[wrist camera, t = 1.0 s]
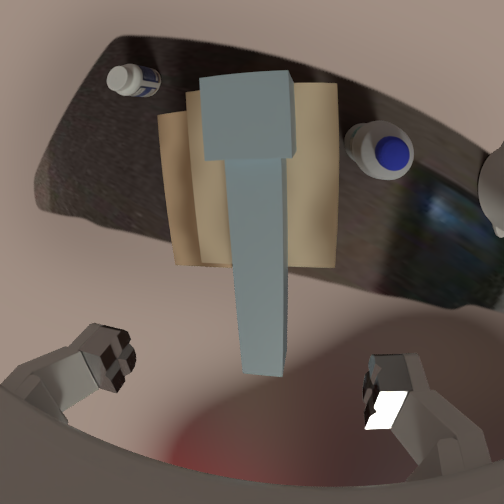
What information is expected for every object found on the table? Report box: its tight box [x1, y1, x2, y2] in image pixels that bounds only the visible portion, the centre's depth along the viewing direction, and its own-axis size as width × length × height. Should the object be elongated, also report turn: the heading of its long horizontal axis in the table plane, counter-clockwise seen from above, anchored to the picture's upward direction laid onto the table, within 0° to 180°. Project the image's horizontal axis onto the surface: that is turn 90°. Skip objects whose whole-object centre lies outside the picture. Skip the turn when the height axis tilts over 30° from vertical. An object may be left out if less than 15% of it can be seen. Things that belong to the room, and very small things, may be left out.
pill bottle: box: [107, 64, 161, 97], centre depth 40 cm, size 5×5×10 cm
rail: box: [199, 70, 297, 377], centre depth 21 cm, size 5×23×5 cm, turn 3°
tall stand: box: [186, 83, 339, 268], centre depth 33 cm, size 11×14×26 cm
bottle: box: [344, 121, 414, 180], centre depth 33 cm, size 7×7×20 cm
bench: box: [158, 111, 233, 268], centre depth 42 cm, size 8×20×14 cm, turn 3°
